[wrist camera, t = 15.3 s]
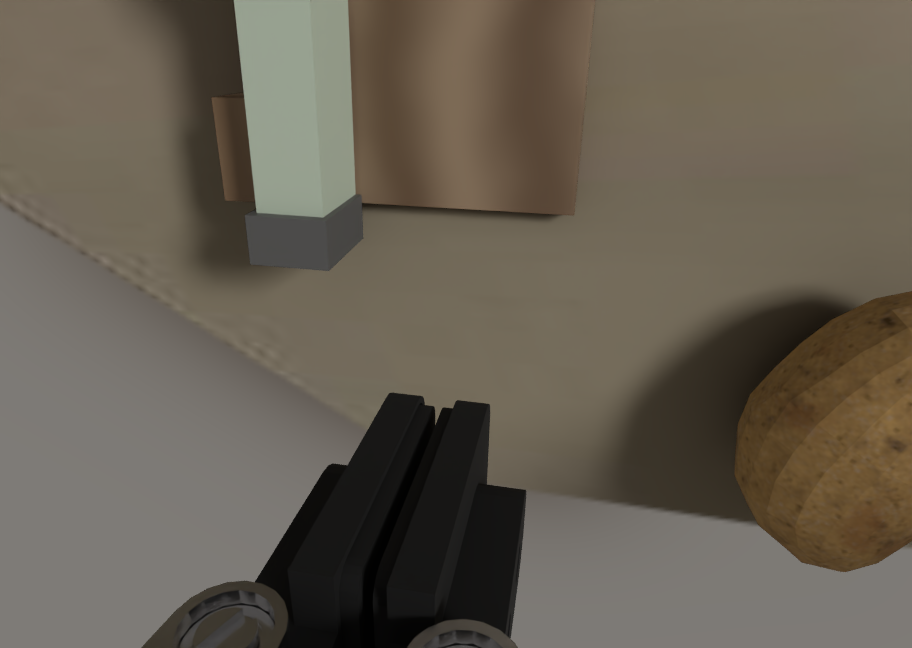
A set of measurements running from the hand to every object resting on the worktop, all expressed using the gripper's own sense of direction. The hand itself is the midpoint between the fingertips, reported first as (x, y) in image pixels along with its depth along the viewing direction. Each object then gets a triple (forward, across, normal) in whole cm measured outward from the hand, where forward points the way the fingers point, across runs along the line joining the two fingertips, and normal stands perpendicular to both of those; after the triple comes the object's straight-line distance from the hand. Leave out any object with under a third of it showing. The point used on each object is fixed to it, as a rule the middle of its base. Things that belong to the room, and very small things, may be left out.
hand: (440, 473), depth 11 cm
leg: (+21, +10, -6) cm, 24 cm away
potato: (+23, -16, +9) cm, 29 cm away
